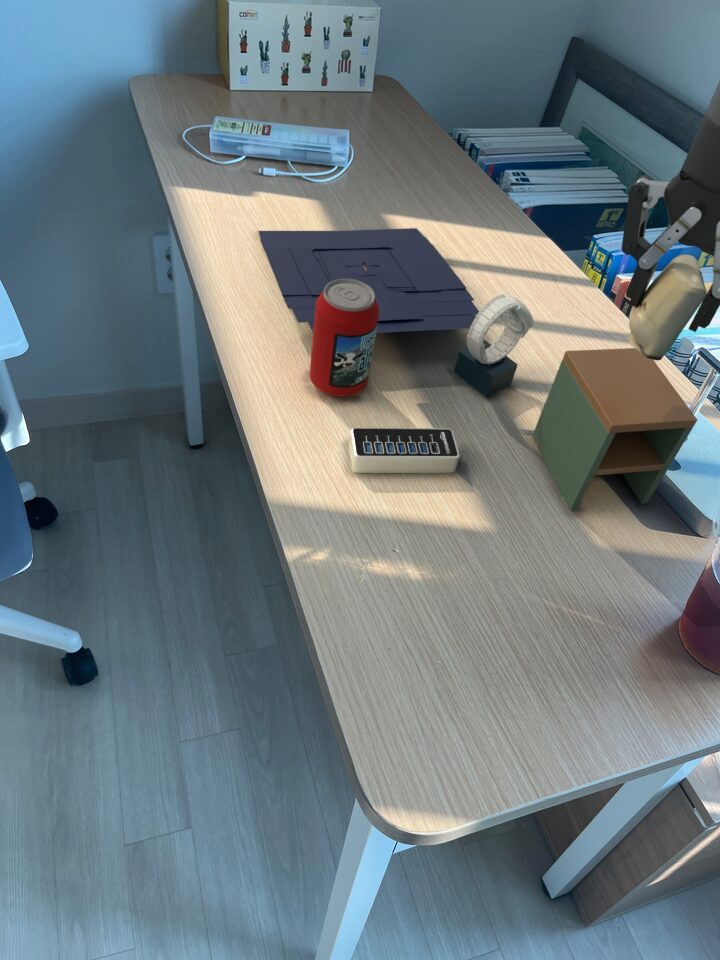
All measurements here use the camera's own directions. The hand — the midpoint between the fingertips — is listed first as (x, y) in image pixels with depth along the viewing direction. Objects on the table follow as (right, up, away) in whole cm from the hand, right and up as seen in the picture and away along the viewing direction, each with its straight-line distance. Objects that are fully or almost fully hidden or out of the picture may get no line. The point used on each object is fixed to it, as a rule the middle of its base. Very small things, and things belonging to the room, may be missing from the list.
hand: (664, 313), depth 67 cm
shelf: (-2, -14, +15) cm, 20 cm away
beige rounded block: (0, -3, +3) cm, 4 cm away
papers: (-27, +10, +33) cm, 44 cm away
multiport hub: (-23, -13, +13) cm, 29 cm away
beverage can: (-30, -4, +20) cm, 36 cm away
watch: (-12, -3, +24) cm, 27 cm away
